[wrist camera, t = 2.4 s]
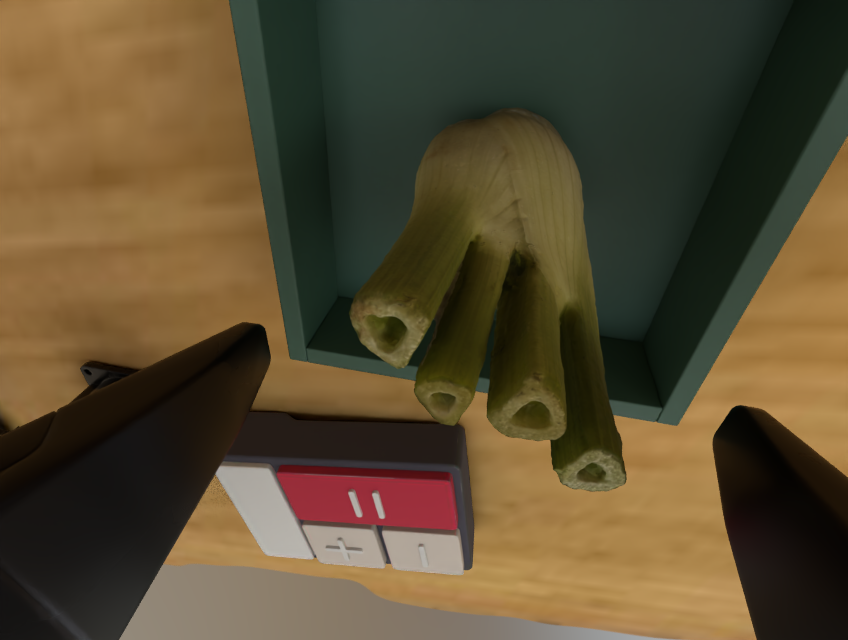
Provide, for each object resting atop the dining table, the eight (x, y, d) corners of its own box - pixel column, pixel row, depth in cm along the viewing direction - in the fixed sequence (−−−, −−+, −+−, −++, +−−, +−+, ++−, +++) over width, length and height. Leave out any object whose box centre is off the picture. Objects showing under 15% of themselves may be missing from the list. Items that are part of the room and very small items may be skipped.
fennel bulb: (595, 222, 17) (677, 510, 8) (476, 263, 19) (423, 532, 10) (546, 66, 14) (581, 205, 5) (414, 132, 16) (255, 323, 7)
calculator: (472, 584, 29) (258, 564, 32) (475, 521, 32) (282, 508, 35) (459, 479, 23) (195, 466, 25) (465, 415, 26) (231, 410, 29)
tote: (326, 302, 22) (289, 359, 19) (289, -93, 14) (206, -122, 10) (652, 353, 20) (678, 426, 17) (849, -68, 12) (984, -95, 8)
